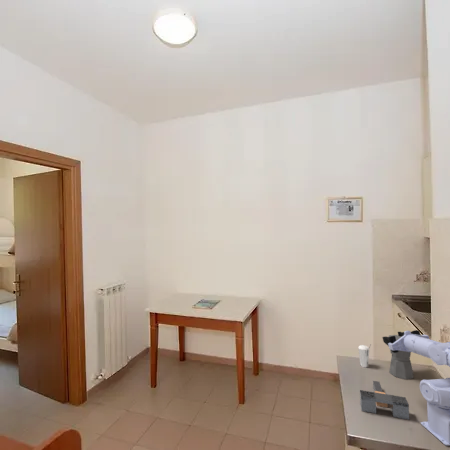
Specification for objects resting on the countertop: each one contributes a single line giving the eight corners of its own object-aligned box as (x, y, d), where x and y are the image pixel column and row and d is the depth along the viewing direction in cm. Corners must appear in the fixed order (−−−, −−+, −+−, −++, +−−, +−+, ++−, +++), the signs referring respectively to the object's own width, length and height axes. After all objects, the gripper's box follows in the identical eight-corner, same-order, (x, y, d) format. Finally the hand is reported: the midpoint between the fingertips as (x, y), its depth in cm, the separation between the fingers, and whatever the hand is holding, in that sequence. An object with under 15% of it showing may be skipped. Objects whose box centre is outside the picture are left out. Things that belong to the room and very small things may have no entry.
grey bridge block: (360, 404, 99) (359, 389, 99) (405, 412, 94) (405, 397, 94) (361, 411, 95) (361, 396, 96) (409, 419, 91) (408, 404, 91)
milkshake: (373, 368, 124) (372, 346, 124) (360, 367, 125) (359, 345, 125) (370, 364, 129) (369, 342, 129) (357, 363, 130) (356, 341, 130)
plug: (371, 387, 110) (371, 379, 110) (381, 389, 108) (381, 381, 108) (376, 405, 98) (376, 397, 98) (387, 407, 97) (387, 398, 97)
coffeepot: (405, 383, 112) (403, 338, 112) (381, 373, 120) (380, 331, 120) (423, 372, 120) (421, 330, 120) (400, 364, 128) (399, 324, 128)
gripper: (436, 328, 94) (406, 322, 108) (397, 338, 92) (372, 330, 106) (442, 350, 93) (412, 341, 106) (404, 360, 91) (377, 349, 105)
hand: (392, 337), depth 106 cm, fingers open, 7 cm apart
